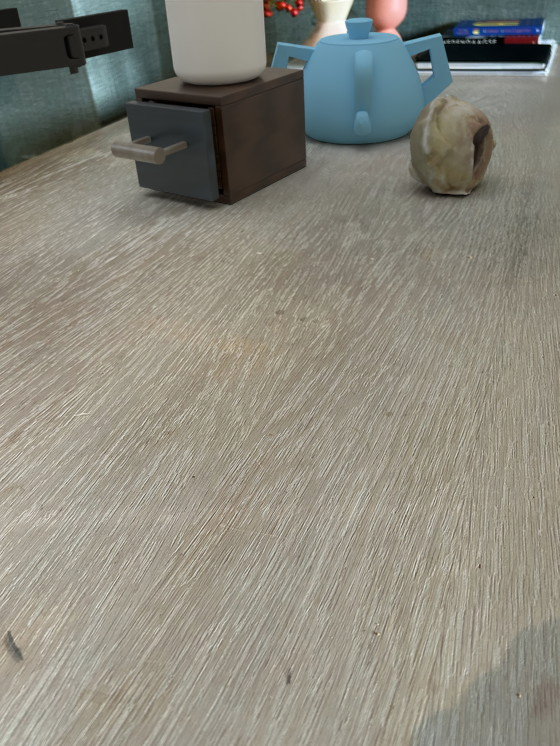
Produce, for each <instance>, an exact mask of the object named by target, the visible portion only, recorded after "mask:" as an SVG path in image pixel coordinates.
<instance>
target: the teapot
mask: <svg viewBox="0 0 560 746" xmlns="http://www.w3.org/2000/svg"><path fill="white" fill-rule="evenodd" d="M373 23H374V19H372V18H371V17H353V18H347V19H346V20H345V21H344V24H345V28H346V33H336V34H331V35H326V36H323V37H321V38H319V40H317V42H316V43H315V45H314V46H309V45H304V44H303V45H302V44H296V43H295V44H294V43H289V42H283V41H277V42H276V45H275V50H274V54H273V58H272V62H271V66H270V67H275V68H288V65H289V59H290V58H294V59H297V60H302V61H305V63H304V66H303V68H302V69H303V72H304V103H305V135H307V136H308V137H309V138H311V139H313V140H316V141H318V142H324V143H329V144H338V145H339V144H340V145H341V144H342V145H364V144H375V143H376V144H377V143H383V142H389V141H392V140H396V139H399V138H402V137H404V136H406V135H408V134H409V133H410V132H411V131H412V128H413V126H414V124H415V122H416V120H417V118H418V116H419V115H420V113H421V111H422V110H423V108H424V107H425V106H426V105H427V104H428V103H430V102H431V101H433V100H434V99H435V98H437V97H439V96H440V95H441V94H442V93H443V92H444V91H445V90H446V89H447V88H448V87H449V86H450V85H451V84H453V82H454V80H453V76H452V71H451V68H450V64H449V60H448V56H447V52H446V48H445V43H444V39H443V35H442V34H441V33H440V32H438V33H434V34H430V35H426V36H422V37H418V38H414V39H410V40H407V41H403V40H402V38H401V37H400V36H399V35H397V34H395V33H392V32H391V33H389V32H381V31H379V32H378V31H375V32H374V31H371V29H372V27H373ZM426 51H429V52H428V53H429V56H430V57H429V59H430V65H431V72H432V74H431V75H429V76H428V77H427V78H426V79H425V80H424V81H422V79H421V77H420V74H419V71H418V68H417V66H416V64H415V62H414V60H413V58H412V56H415V55H417V54H421V53H423V52H426Z"/></svg>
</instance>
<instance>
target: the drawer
mask: <svg viewBox="0 0 560 746" xmlns="http://www.w3.org/2000/svg"><path fill="white" fill-rule="evenodd" d="M124 105H125V111H126V116H127V122H128V128H129V129H128V130H129V133H130V141H124V140H123V141H122V140H115V141H113V142H112V144H111V146H110V152H111V154H112V156H114V157H115V158H119V159H125V160H132V161H134V163H135V170H136V175H137V181H138V187H140V188H144V189H149V190H154V191H159V192H164V193H168V194H169V193H170V194H174V195H179V196H184V197H187V198H188V197H189V198H192V199H199V200H204V201H208V202H215V201H214V200H216V199H218V198H219V190H218V189H223V182H222V172H221V162H220V152H219V142H218V132H217V122H216V112H215V106H212V105H203V104H194V103H185V102H176V101H167V100H158V99H152V100H149V102H141V101H136V100H130V101H126V102H125V103H124Z"/></svg>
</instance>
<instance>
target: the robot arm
mask: <svg viewBox="0 0 560 746" xmlns="http://www.w3.org/2000/svg"><path fill="white" fill-rule="evenodd" d="M54 22H55V23H49V24H39V25H27V26H22V23H21V19H20V14H19V10H18V7H7V8H0V77H6V76H13V75H22V74H28V73H37V72H42V71H49V70H57V69H65V68H68V69H69V75H75V74H78V73H79V68H82V67H83V66H86V65H87V59H90V58H96V57H99V56H104V55H108V54H113V53H117V52H122V51H125V50H130V49H134V48H135V47H134V42H133V34H132V29H131V22H130V15H129V10H128V9H127V8H125V9H122V8H121V9H114V10H109V11H103V12H97V13H90V14H85V15H79V16H78V15H77V16H74V17H73V16H72V17H67V18H60V19H55V20H54Z"/></svg>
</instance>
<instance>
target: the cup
mask: <svg viewBox="0 0 560 746" xmlns="http://www.w3.org/2000/svg"><path fill="white" fill-rule="evenodd" d="M164 5H165V11H166V12H165V13H166V20H167V29H168V36H169V43H170V44H169V45H170V51H171V52H170V53H171V58H172V67H173V71H174V73H175V76H176V77H178V78H179V79H181V80H182V81H184V82H186V83H189V84H195V85H228V84H236V83H241V82H246V81H249V80H252V79H255V78H257V77H258V76H260V75H261V74H262V73H263V71H264V70H265V68H266V67H267V46H266V45H267V43H266V28H265V26H266V25H265V10H264V0H164Z"/></svg>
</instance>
